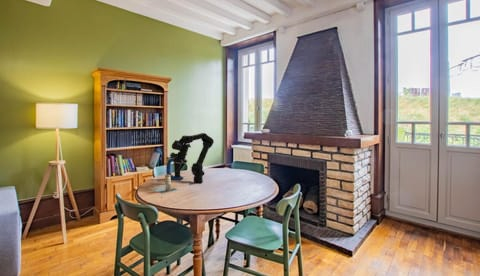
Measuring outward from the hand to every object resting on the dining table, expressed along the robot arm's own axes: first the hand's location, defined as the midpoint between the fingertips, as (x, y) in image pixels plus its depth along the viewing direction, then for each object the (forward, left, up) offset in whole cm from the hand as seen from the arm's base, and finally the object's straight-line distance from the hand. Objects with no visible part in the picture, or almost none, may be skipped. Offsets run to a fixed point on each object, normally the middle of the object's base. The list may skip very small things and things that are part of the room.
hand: (177, 171), depth 199 cm
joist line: (+2, +14, -11) cm, 18 cm away
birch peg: (+2, +14, -11) cm, 18 cm away
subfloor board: (+7, +10, -12) cm, 17 cm away
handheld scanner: (+8, -24, -13) cm, 28 cm away
